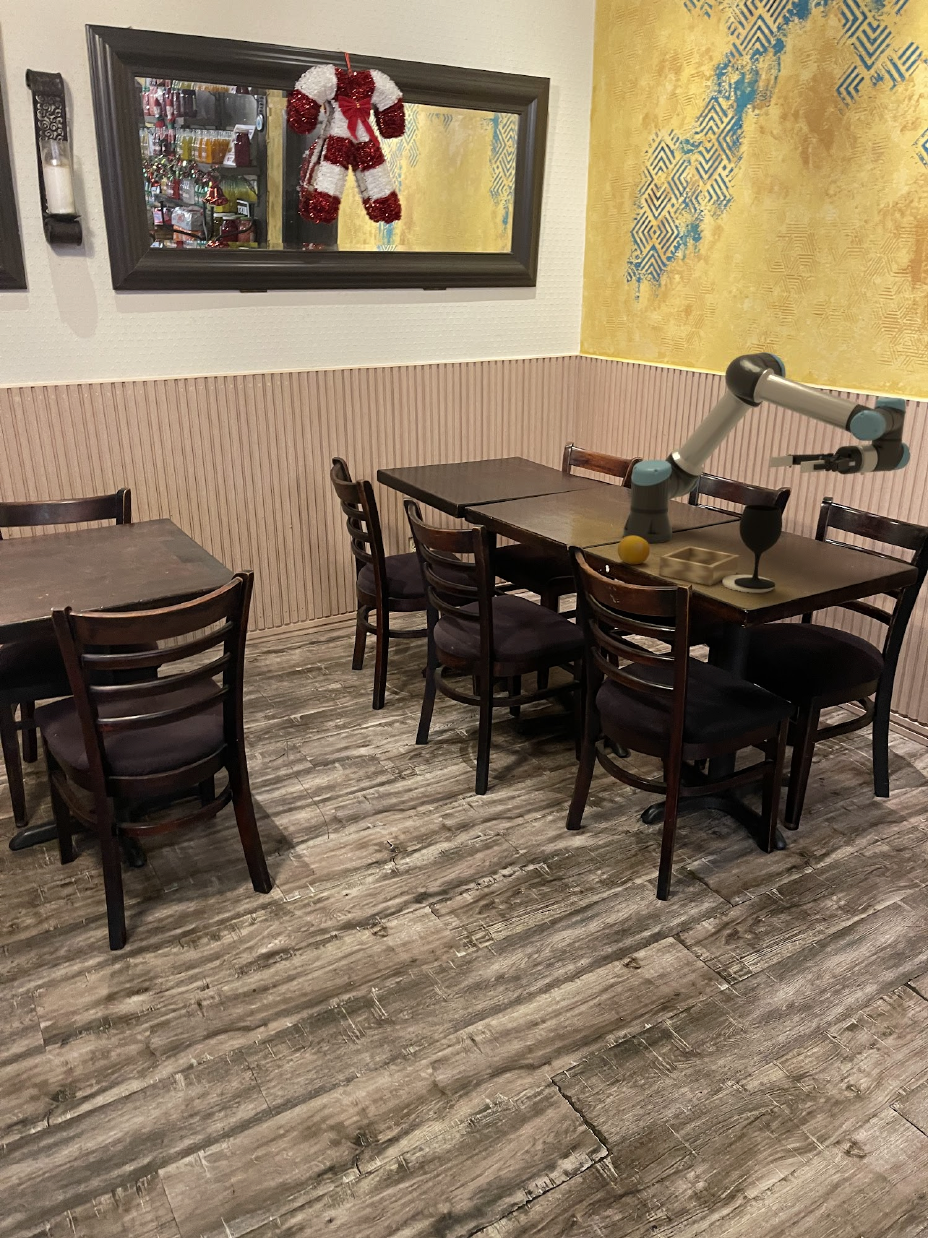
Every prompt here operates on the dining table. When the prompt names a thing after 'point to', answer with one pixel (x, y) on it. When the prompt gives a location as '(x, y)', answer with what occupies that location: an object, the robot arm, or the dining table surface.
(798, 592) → the dining table surface
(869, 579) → the dining table surface
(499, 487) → the dining table surface
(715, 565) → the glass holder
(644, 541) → the fruit
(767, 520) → the wine glass
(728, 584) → the plate
